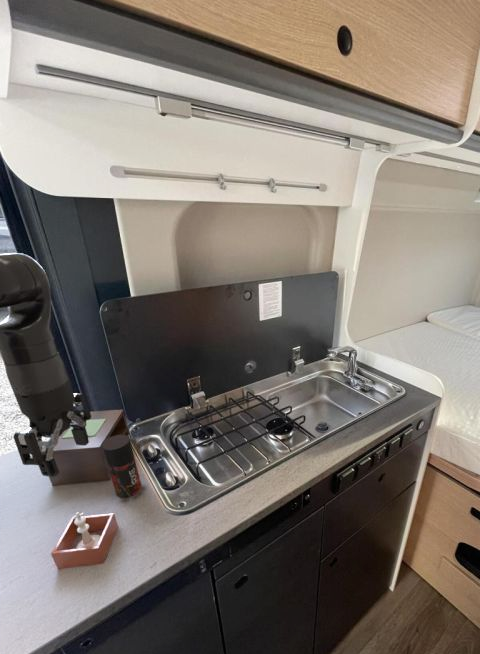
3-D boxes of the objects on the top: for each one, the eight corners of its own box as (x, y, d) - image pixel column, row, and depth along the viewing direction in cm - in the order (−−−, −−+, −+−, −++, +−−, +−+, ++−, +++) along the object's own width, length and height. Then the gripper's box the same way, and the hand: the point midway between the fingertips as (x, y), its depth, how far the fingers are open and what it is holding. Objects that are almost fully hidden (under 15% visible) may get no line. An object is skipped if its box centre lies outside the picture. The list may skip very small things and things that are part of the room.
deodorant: (123, 480, 87) (110, 434, 81) (145, 481, 87) (134, 434, 81) (111, 497, 82) (96, 449, 75) (134, 498, 81) (121, 450, 75)
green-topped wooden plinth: (52, 485, 85) (38, 451, 80) (82, 442, 101) (72, 412, 96) (109, 480, 87) (99, 446, 82) (130, 439, 103) (123, 408, 98)
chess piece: (104, 549, 69) (92, 515, 65) (77, 562, 66) (62, 527, 62) (102, 532, 73) (90, 499, 68) (75, 543, 70) (62, 510, 66)
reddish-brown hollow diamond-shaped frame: (57, 569, 65) (50, 554, 63) (77, 531, 73) (71, 517, 71) (103, 563, 66) (98, 548, 64) (118, 527, 74) (114, 512, 72)
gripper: (49, 363, 61) (73, 435, 67) (-21, 403, 48) (18, 486, 54) (89, 364, 60) (109, 436, 67) (30, 404, 48) (62, 488, 54)
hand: (68, 458), depth 61 cm, fingers open, 8 cm apart
